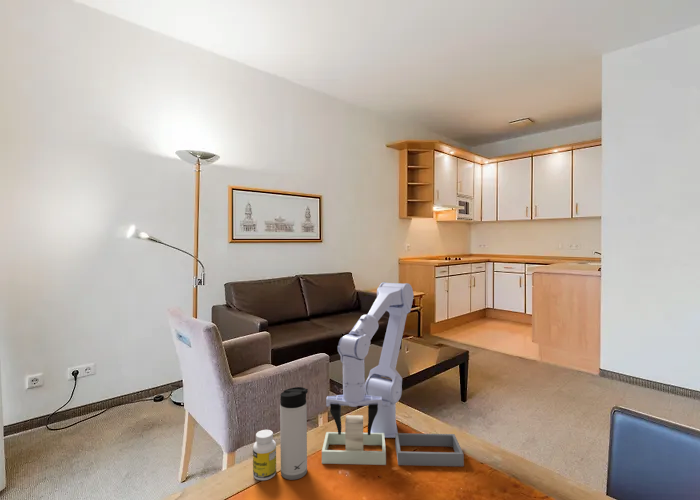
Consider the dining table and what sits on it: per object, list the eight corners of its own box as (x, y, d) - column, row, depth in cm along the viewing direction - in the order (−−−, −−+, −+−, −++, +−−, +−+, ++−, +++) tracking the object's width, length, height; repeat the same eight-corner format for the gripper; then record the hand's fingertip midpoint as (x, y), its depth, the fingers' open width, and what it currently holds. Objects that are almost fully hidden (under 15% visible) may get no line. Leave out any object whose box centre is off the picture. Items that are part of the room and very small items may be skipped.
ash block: (346, 448, 100) (346, 415, 100) (363, 449, 99) (363, 415, 99) (345, 458, 95) (345, 423, 95) (363, 458, 95) (362, 423, 95)
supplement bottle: (248, 477, 87) (247, 435, 87) (263, 465, 92) (263, 426, 92) (266, 484, 85) (265, 441, 85) (281, 471, 90) (280, 430, 90)
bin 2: (395, 444, 102) (395, 433, 102) (454, 445, 101) (454, 434, 101) (398, 465, 92) (398, 452, 92) (463, 466, 91) (463, 454, 91)
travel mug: (303, 482, 85) (302, 395, 85) (276, 478, 87) (275, 393, 87) (311, 466, 91) (311, 385, 92) (286, 463, 93) (285, 383, 93)
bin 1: (326, 442, 103) (326, 432, 103) (384, 443, 102) (384, 432, 102) (321, 463, 93) (321, 451, 93) (385, 464, 92) (385, 452, 92)
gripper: (324, 386, 94) (325, 440, 94) (382, 386, 93) (382, 441, 93) (327, 376, 101) (328, 426, 101) (381, 377, 100) (381, 427, 100)
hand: (354, 432), depth 97 cm, fingers open, 7 cm apart
